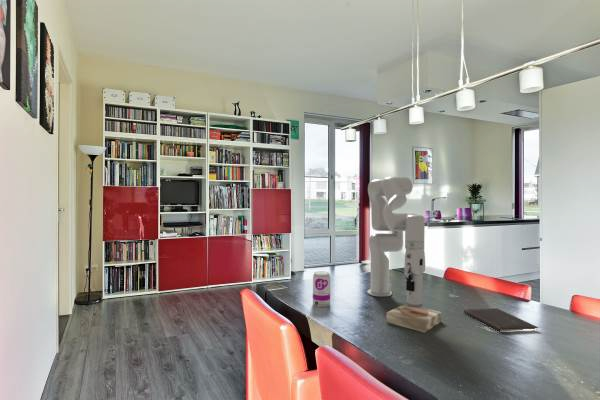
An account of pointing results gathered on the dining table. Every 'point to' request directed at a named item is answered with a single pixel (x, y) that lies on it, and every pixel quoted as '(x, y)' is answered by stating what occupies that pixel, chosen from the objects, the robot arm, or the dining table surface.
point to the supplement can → (321, 289)
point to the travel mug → (416, 289)
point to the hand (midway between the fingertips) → (414, 288)
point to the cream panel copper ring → (414, 317)
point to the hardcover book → (498, 319)
